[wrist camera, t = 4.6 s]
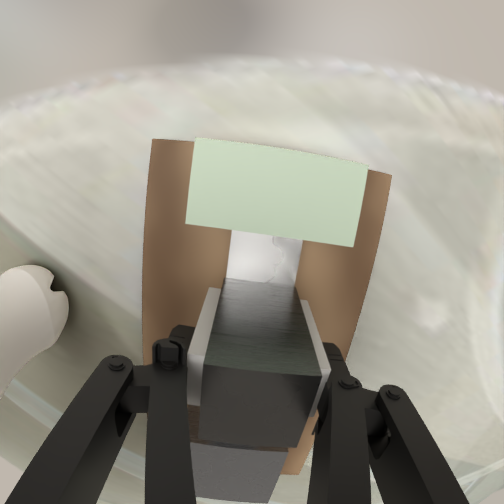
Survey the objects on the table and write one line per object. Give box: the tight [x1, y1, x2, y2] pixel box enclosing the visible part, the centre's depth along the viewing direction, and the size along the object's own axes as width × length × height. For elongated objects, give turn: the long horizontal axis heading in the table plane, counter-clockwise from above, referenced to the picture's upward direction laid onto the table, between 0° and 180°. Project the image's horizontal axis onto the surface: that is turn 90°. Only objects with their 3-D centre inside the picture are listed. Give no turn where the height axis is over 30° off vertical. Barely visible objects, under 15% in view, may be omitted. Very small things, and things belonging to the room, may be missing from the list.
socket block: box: [185, 137, 369, 247], centre depth 17 cm, size 8×4×6 cm, turn 82°
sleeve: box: [188, 404, 289, 503], centre depth 23 cm, size 8×8×6 cm
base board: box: [142, 139, 392, 475], centre depth 24 cm, size 16×31×1 cm, turn 172°
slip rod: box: [198, 230, 322, 448], centre depth 17 cm, size 4×21×12 cm, turn 172°
